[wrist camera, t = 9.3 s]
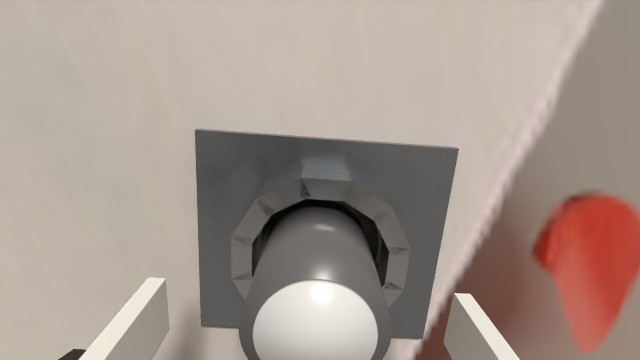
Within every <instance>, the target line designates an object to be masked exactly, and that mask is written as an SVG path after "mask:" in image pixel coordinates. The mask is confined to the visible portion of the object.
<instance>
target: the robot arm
mask: <svg viewBox="0 0 640 360" xmlns="http://www.w3.org/2000/svg"><path fill="white" fill-rule="evenodd" d="M168 331H169V319H168V304H167V289H166V278H148V279H147V280H146V281H145V282H144V283H143V284H142V286H141V287H140V288H139V289H138V290H137V291H136V293H135V294H134V295H133V296H132V297H131V299H130V300H129V301H128V302H127V303H126V304H125V306H124V307H123V308H122V309H121V310H120V311H119V313H118V314H117V315H116V316H115V317H114V319H113V320H112V321H111V322H110V323H109V324H108V326H107V327H106V328H105V329H104V330H103V332H102V333H101V334H100V335H99V336H98V337H97V339H96V340H95V341H94V342H93V343H92V344H91V346H90V347H89V348H88V349H87V350H83V349H73V350H72V351H70V352H69V353H67V354H66V355H64V356H63V357H62V358H60V359H59V360H152V358H153V357H154V355H155V353H156V352H157V350H158V348H159V346H160V345H161V343H162V341H163V340H164V338H165V336H166V334H167V333H168ZM444 344H445V346H446V348H447V350H448V352H449V353H450V356H451V358H452V360H519V358H518V357H517V356H516V354H515V353H514V352H513V350H512V349H511V348H510V346H509V345H508V343H507V342H506V341H505V340H504V338H503V337H502V336H501V334H500V333H499V332H498V330H497V329H496V328H495V326H494V325H493V323H492V322H491V321H490V319H489V318H488V317H487V315H486V314H485V313H484V312H483V310H482V309H481V307H480V306H479V305H478V303H477V302H476V301H475V300H474V298H473V297H472V296H471V294H460V293H454V296H453V301H452V306H451V310H450V315H449V320H448V324H447V329H446V333H445V338H444Z"/></svg>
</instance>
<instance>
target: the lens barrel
mask: <svg viewBox="0 0 640 360" xmlns="http://www.w3.org/2000/svg"><path fill="white" fill-rule="evenodd" d="M391 334H392V323H391V317H390V313H389V309H388V306H387V303H386V300H385V296H384V293H383V290H382V287H381V283H380V280H379V277H378V274H377V271H376V267H375V264H374V261H373V258H372V255H371V251H370V248H369V245H368V242H367V238H366V235H365V232H364V229H363V227H362V224H361V223H360V221H359V219H358V218H357V217H356V215H355V214H354V213H353V212H352V211H351V210H349V209H348V208H347V207H345V206H343V205H342V204H340V203H337V202H335V201H332V200H317V199H305V200H302V201H300V202H298V203H295V204H293V205H291V206H289V207H287V208H285V209H284V210H283V211H282V212H281V213H280V214H279V215H278V216H277V217H276V218H275V220H274V221H273V223H272V225H271V227H270V230H269V233H268V236H267V239H266V241H265V244H264V247H263V250H262V253H261V256H260V259H259V262H258V265H257V268H256V271H255V274H254V276H253V279H252V282H251V285H250V288H249V291H248V294H247V297H246V300H245V303H244V306H243V309H242V312H241V316H240V320H239V337H240V341H241V345H242V348H243V350H244V352H245V354H246V356H247V358H248V359H249V360H382V359H383V357H384V356H385V354H386V352H387V350H388V347H389V344H390V340H391Z"/></svg>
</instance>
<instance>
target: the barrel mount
mask: <svg viewBox="0 0 640 360" xmlns="http://www.w3.org/2000/svg"><path fill="white" fill-rule="evenodd" d="M195 144H196V176H197V208H198V241H199V273H200V305H201V326H213V327H230V328H239V320H240V316H241V312H242V309H243V306H244V303H245V300H246V297H247V294H248V291H249V288H250V285H251V282H252V279H253V276H254V274H255V271H256V268H257V265H258V262H259V259H260V256H261V253H262V250H263V247H264V244H265V241H266V239H267V236H268V233H269V230H270V227H271V225H272V223H273V221H274V220H275V218H276V217H277V216H278V215H279V214H280V213H281V212H282V211H283V210H284V209H285V208H287V207H289V206H291V205H293V204H295V203H298V202H300V201H302V200H305V199H317V200H332V201H335V202H337V203H340V204H342V205H343V206H345V207H347V208H348V209H349V210H351V211H352V212H353V213H354V214H355V215H356V217H357V218H358V219H359V221H360V223H361V224H362V227H363V229H364V232H365V235H366V238H367V242H368V245H369V248H370V251H371V255H372V258H373V261H374V264H375V267H376V271H377V274H378V277H379V280H380V283H381V287H382V290H383V293H384V296H385V300H386V303H387V306H388V309H389V313H390V317H391V323H392V334H391V337H399V338H416V339H423V334H424V329H425V324H426V319H427V313H428V308H429V303H430V298H431V292H432V287H433V282H434V277H435V271H436V266H437V261H438V256H439V250H440V245H441V240H442V235H443V229H444V224H445V219H446V214H447V208H448V203H449V198H450V193H451V187H452V182H453V177H454V172H455V166H456V161H457V156H458V151H459V149H458V148H455V147H441V146H428V145H414V144H400V143H386V142H372V141H358V140H344V139H331V138H317V137H303V136H289V135H275V134H261V133H248V132H234V131H220V130H206V129H196V130H195Z"/></svg>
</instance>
